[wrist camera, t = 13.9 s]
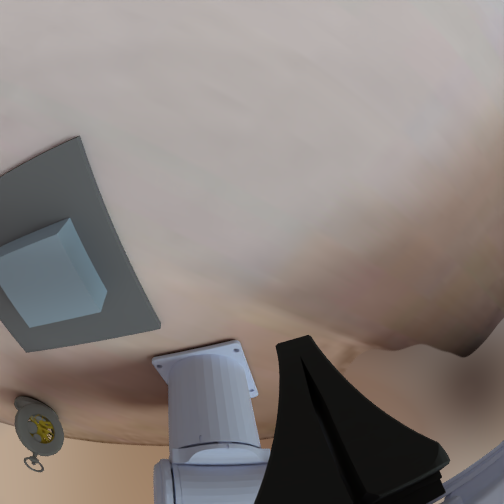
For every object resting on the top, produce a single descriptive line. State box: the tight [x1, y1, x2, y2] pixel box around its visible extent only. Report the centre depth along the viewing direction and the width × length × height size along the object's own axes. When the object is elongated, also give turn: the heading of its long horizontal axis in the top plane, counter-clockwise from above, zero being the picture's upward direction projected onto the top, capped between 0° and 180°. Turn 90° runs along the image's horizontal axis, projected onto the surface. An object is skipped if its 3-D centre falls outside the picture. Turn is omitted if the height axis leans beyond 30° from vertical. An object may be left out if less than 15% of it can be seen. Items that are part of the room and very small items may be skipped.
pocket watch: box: [14, 397, 64, 472], centre depth 23 cm, size 8×8×10 cm
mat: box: [0, 136, 161, 353], centre depth 18 cm, size 15×15×1 cm
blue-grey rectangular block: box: [0, 218, 107, 328], centre depth 17 cm, size 6×2×7 cm
